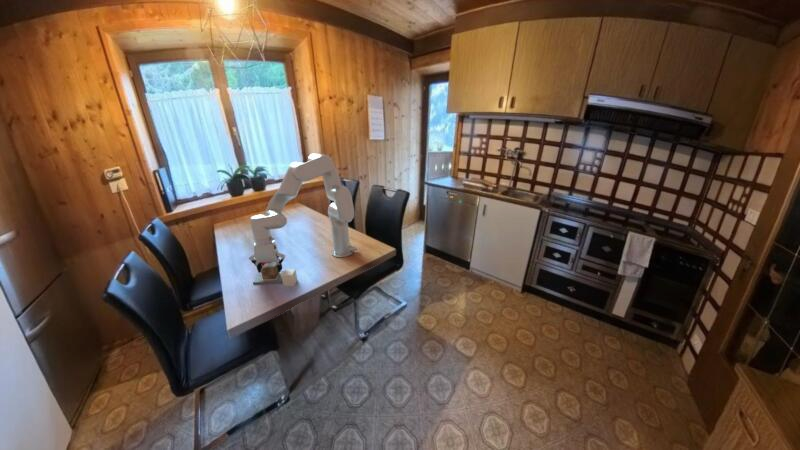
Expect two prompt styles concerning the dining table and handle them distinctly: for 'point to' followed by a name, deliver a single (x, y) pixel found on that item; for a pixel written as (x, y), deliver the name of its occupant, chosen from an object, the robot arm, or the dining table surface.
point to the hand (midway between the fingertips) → (270, 270)
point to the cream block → (289, 277)
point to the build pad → (260, 279)
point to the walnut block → (269, 271)
